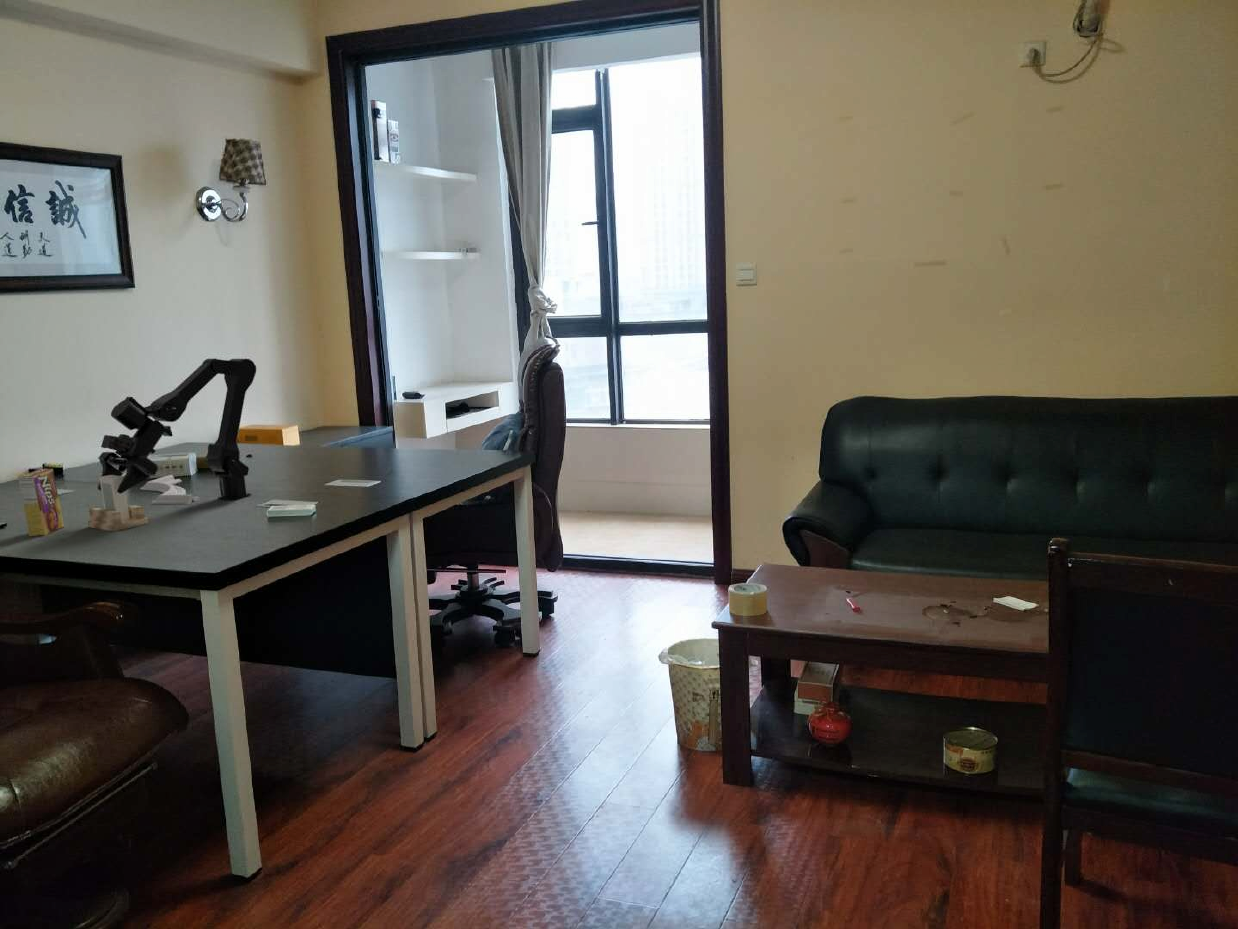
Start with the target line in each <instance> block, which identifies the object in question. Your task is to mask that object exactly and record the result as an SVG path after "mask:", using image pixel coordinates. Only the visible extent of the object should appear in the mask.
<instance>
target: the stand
mask: <svg viewBox="0 0 1238 929" xmlns="http://www.w3.org/2000/svg"><path fill="white" fill-rule="evenodd" d="M128 510H129V516H130V519H128V520H124V521H121V515H120V512H118V511H112V510H106V509H104V508H98V507H92V508H89V511H88V512H89V517H90V520H88V521H87V524H88V527H89V528H91V529H99V530H103V531H109V532H119V531H122V530H126V529H129V528H135V527H138V526H142V525H147V524H149V519H148V517H147V516H145V511H144V506H143V505H142V506H140V505H136V504H135V505H134V504H129V503H128Z"/></svg>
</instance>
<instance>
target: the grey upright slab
mask: <svg viewBox="0 0 1238 929" xmlns="http://www.w3.org/2000/svg"><path fill="white" fill-rule="evenodd" d="M98 478H99V482H100V485H101V497H102V504H103V509H106V510H112V511H118V512H120V515H121V521H124V520H128V519H130V516H129V510H128V504H129V503H128V496H127V490H126V491H125V492H123V493H121V494H120V493H118V492H117V490H118V488H119V486H120V484H121V482H122V480H123V478H124V476H122V475H121V476H115V475H108V476H103V477H101V476H99V477H98Z"/></svg>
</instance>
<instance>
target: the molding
mask: <svg viewBox="0 0 1238 929" xmlns="http://www.w3.org/2000/svg"><path fill="white" fill-rule="evenodd" d="M182 482H183V481H182V480H181V479H180V478H176V479H175V477H174V476H173V475H172V474H170V475H166V476H162V477H159V478H157V479H152V480H150V481H146V483H145V484H144V485H143V486H142V487H140V491H155V492H161V493H162V494H159V495H157V496H156V498H155V499H154V500H152V501H151V504H152V505H190V504H191V503H193V502H198V501H201V500H202V499H201V497H199V496H194V494H187V491H186V489H185V488H183V487H181V486H178V485H177V484H180V483H182Z"/></svg>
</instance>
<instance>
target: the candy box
mask: <svg viewBox="0 0 1238 929" xmlns="http://www.w3.org/2000/svg"><path fill="white" fill-rule="evenodd" d="M17 477H18V483H19V488H20V493H21V499H22V504H23V508H24V515H25V519H26V524H27V530H28V536H29V537H38V536H37V535H44V536H47V535H49V534H51V533H54V532H55V531H58V530H59V529H61V528H63V527H65V525H64V519H63V514H62V513H63V512H62V509H61V502H60V498H59V493H58V488H57V483H56V478H55V474H54V469H53V468H44V469H37V470H34V471H31V472H28V473H26V474H23V475H20V476H17Z"/></svg>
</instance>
